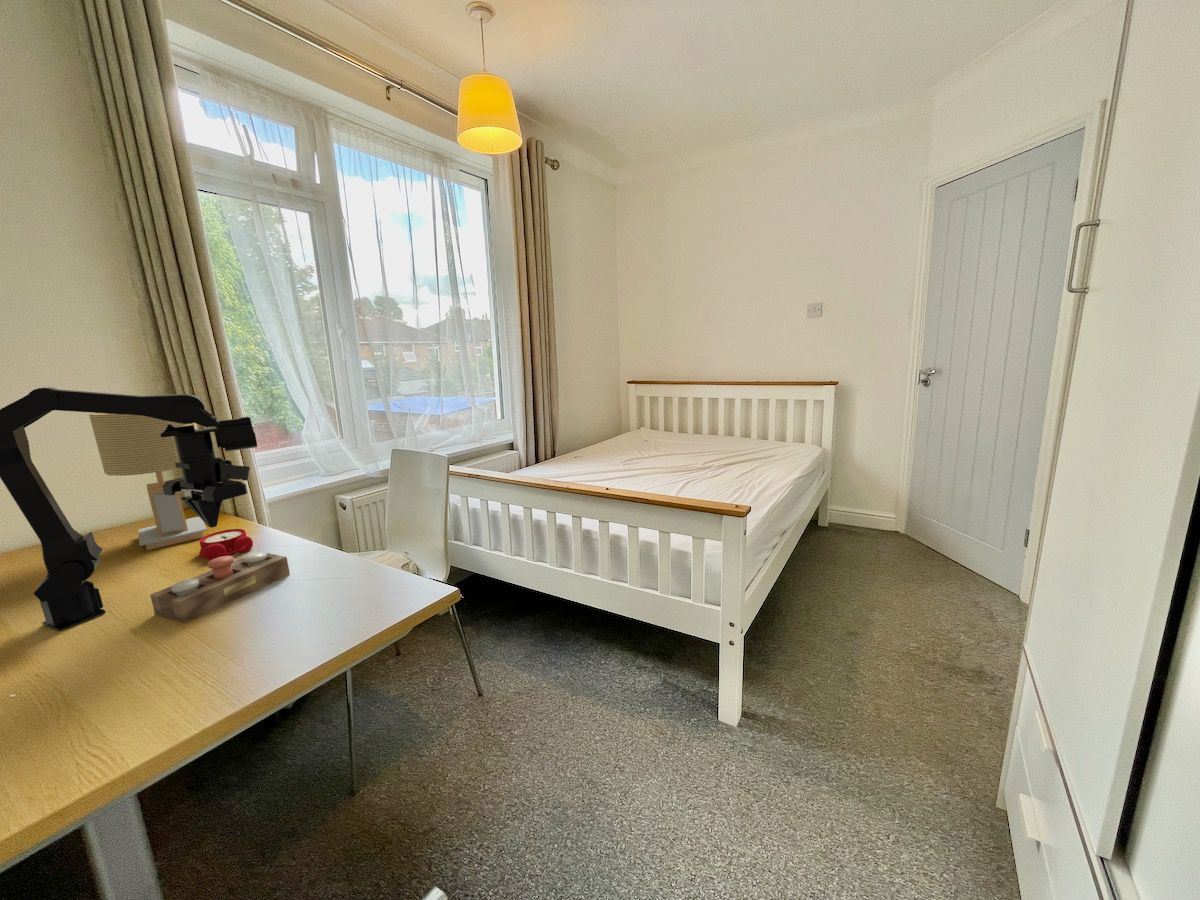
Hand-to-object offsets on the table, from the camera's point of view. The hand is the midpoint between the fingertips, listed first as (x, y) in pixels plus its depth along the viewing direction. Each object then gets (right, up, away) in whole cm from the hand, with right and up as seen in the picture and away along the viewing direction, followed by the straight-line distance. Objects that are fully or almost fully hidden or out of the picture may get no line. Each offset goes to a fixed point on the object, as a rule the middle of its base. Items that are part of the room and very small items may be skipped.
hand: (213, 526), depth 101 cm
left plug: (+3, -14, -9) cm, 17 cm away
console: (+6, -13, -3) cm, 15 cm away
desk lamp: (-35, -8, +30) cm, 46 cm away
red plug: (+6, -11, -4) cm, 13 cm away
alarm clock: (-11, -10, +18) cm, 23 cm away
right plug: (+8, -11, +2) cm, 14 cm away
